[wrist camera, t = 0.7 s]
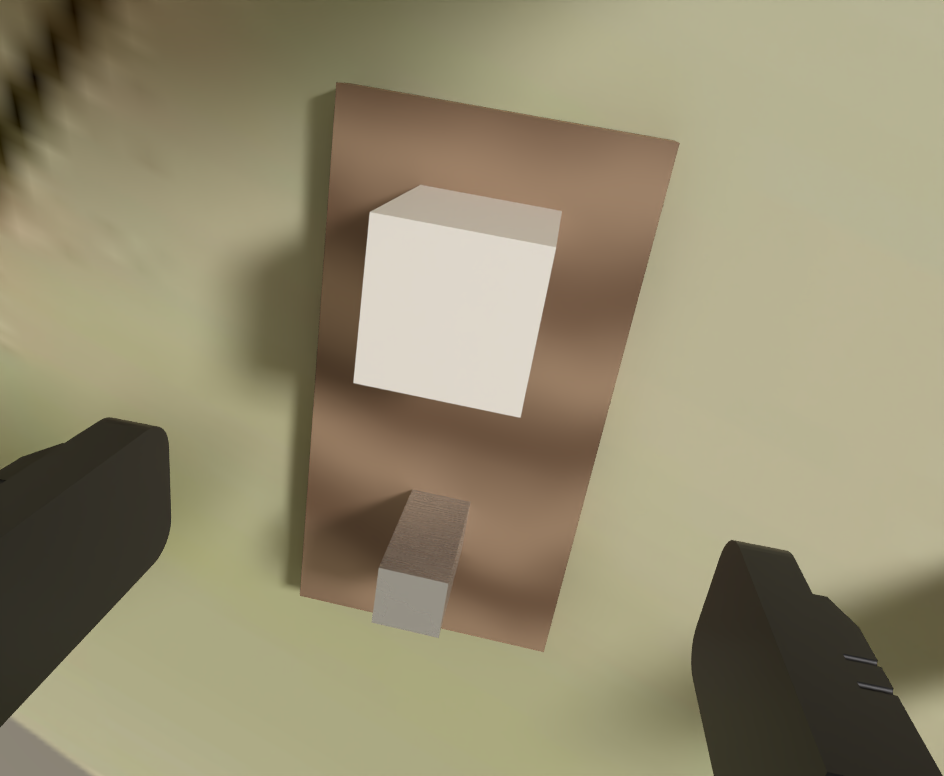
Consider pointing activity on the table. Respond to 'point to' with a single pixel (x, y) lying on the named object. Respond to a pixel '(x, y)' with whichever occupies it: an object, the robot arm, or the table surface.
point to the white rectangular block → (454, 297)
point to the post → (421, 564)
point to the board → (459, 427)
